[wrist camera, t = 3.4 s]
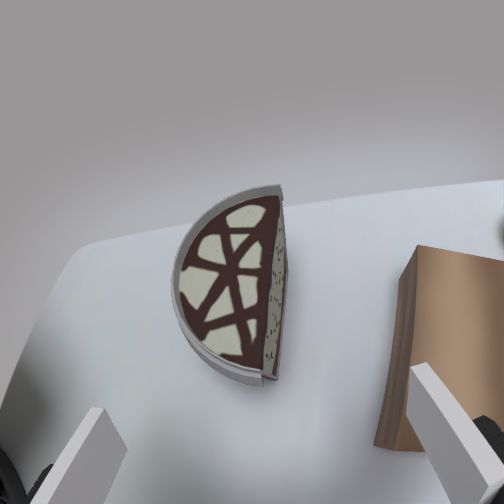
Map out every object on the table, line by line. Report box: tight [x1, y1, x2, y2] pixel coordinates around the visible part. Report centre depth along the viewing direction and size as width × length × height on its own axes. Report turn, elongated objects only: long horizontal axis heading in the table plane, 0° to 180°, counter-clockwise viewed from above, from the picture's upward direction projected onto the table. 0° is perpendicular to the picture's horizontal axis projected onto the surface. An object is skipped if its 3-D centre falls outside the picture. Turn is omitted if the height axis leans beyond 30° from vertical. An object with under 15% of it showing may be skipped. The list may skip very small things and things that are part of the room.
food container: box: [171, 184, 288, 387], centre depth 22 cm, size 12×6×10 cm, turn 173°
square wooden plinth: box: [374, 245, 504, 452], centre depth 18 cm, size 14×14×6 cm
